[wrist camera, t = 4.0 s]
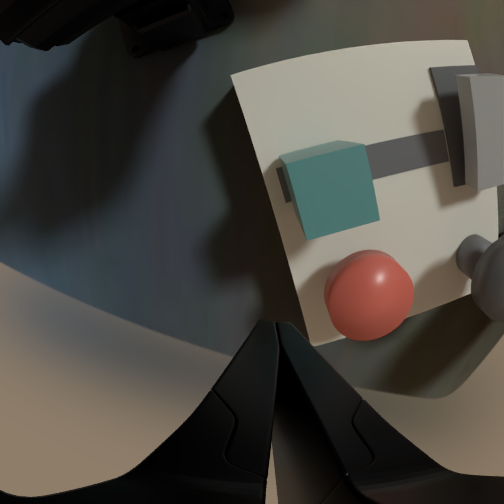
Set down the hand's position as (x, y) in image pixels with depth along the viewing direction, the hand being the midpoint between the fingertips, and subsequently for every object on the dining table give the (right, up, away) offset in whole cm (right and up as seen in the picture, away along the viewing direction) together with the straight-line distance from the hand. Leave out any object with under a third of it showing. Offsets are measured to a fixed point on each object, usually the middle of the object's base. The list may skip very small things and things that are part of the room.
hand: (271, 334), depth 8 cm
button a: (+5, 0, +7) cm, 9 cm away
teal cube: (+3, +6, +7) cm, 9 cm away
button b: (+13, +1, +5) cm, 14 cm away
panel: (+8, +6, +10) cm, 14 cm away
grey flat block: (+12, +9, +4) cm, 15 cm away
